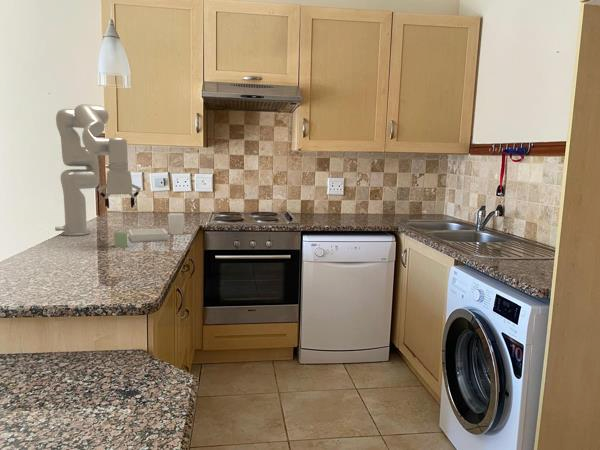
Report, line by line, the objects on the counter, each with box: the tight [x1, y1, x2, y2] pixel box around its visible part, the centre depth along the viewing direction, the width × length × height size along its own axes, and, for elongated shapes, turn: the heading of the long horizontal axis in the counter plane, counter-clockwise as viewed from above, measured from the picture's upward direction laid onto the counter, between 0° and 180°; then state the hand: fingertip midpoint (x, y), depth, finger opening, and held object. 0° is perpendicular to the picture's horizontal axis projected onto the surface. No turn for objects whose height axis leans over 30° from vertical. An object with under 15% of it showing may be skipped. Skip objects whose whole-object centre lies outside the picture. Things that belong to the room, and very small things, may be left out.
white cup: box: [167, 212, 185, 236], centre depth 243 cm, size 8×8×10 cm
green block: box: [113, 230, 128, 248], centre depth 209 cm, size 5×5×6 cm
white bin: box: [128, 227, 169, 243], centre depth 228 cm, size 16×16×4 cm
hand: (120, 207), depth 207 cm, fingers open, 9 cm apart
